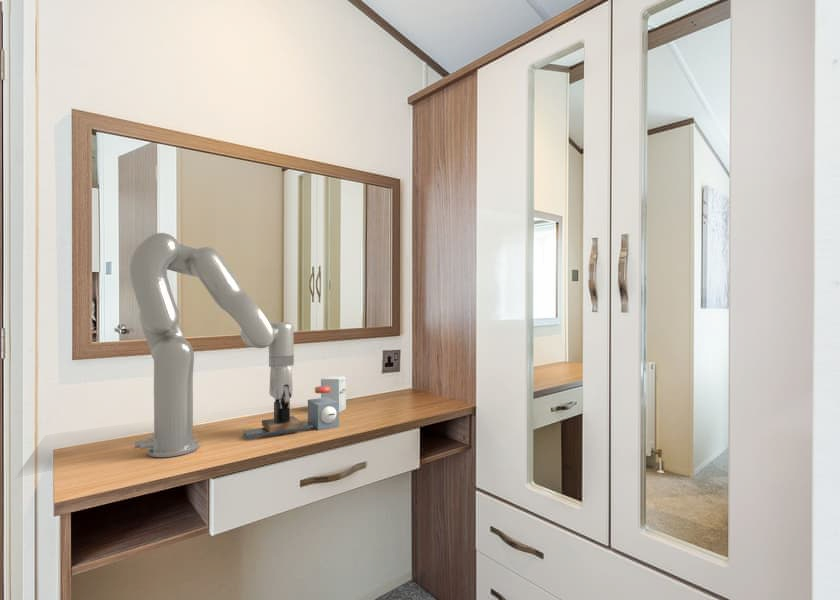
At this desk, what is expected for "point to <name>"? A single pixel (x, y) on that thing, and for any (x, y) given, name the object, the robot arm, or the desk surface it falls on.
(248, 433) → the track
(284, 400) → the robot arm
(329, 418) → the gauge cabinet
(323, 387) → the button
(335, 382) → the supplement box
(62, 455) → the desk surface
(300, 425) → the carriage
